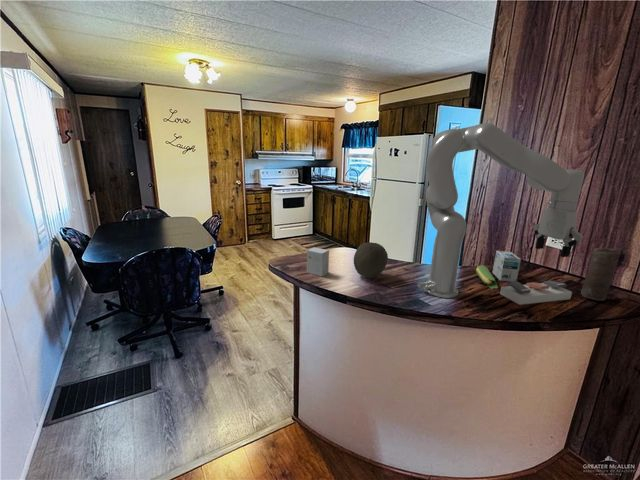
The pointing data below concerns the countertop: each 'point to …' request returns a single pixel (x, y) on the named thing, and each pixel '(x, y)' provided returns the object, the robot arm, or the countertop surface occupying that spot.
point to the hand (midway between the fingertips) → (551, 252)
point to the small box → (317, 261)
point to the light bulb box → (506, 266)
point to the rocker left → (519, 287)
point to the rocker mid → (537, 285)
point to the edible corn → (486, 276)
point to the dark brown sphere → (370, 259)
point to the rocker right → (554, 284)
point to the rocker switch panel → (536, 294)
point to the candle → (600, 273)
